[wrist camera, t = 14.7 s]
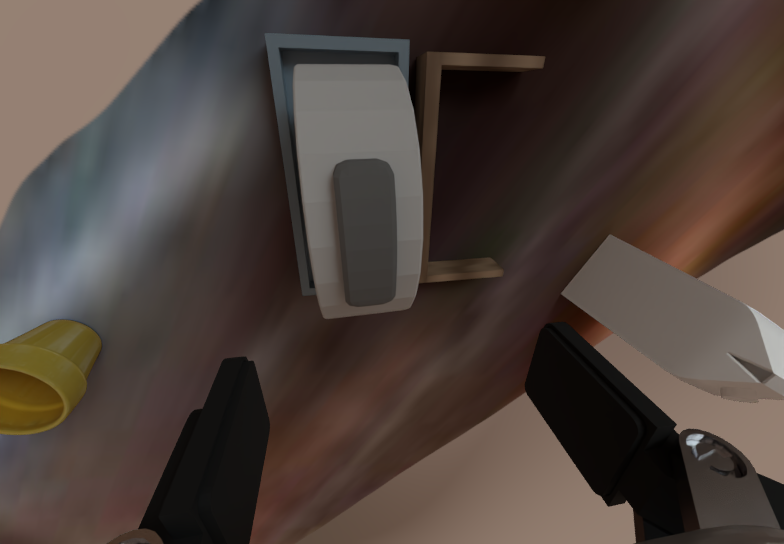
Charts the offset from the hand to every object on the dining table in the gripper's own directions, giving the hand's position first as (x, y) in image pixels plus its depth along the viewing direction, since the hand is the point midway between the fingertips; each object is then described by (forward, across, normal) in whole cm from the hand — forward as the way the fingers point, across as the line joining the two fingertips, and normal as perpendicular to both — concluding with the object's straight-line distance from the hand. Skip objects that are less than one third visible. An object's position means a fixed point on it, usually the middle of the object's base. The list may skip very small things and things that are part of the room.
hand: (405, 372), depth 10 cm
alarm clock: (+30, 0, 0) cm, 30 cm away
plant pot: (+31, +36, +19) cm, 52 cm away
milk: (+32, -42, +17) cm, 55 cm away
